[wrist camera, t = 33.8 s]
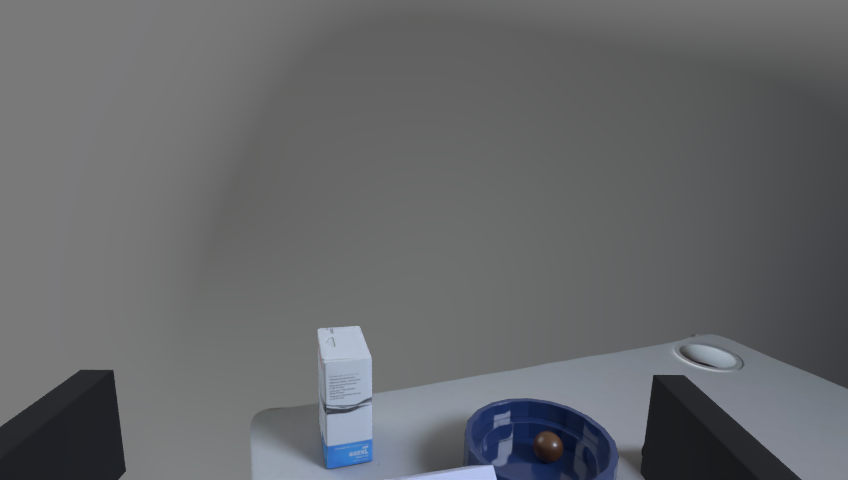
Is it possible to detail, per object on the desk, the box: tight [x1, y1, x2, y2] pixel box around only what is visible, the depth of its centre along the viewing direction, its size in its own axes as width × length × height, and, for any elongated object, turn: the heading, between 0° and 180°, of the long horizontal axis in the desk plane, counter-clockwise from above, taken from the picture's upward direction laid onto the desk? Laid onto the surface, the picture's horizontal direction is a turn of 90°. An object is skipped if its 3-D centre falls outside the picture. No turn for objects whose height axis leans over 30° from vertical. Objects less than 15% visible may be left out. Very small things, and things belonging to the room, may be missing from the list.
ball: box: [533, 431, 563, 463], centre depth 49 cm, size 3×3×3 cm
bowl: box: [463, 398, 619, 480], centre depth 47 cm, size 14×14×4 cm
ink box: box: [317, 326, 372, 469], centre depth 52 cm, size 8×5×12 cm, turn 16°
